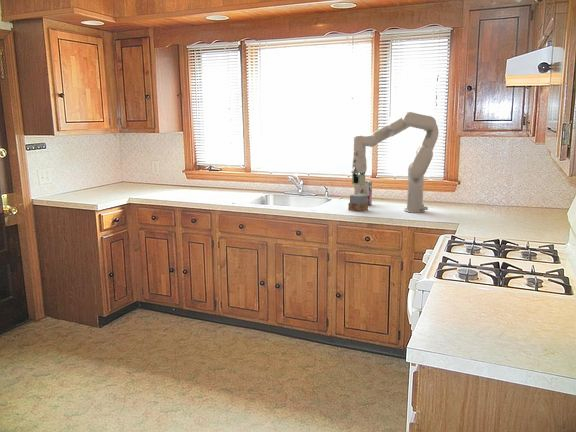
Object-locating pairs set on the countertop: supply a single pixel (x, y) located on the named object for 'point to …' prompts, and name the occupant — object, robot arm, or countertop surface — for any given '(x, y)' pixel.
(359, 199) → the upper block
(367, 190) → the candy bar box
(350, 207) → the lower block
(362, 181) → the green cube
